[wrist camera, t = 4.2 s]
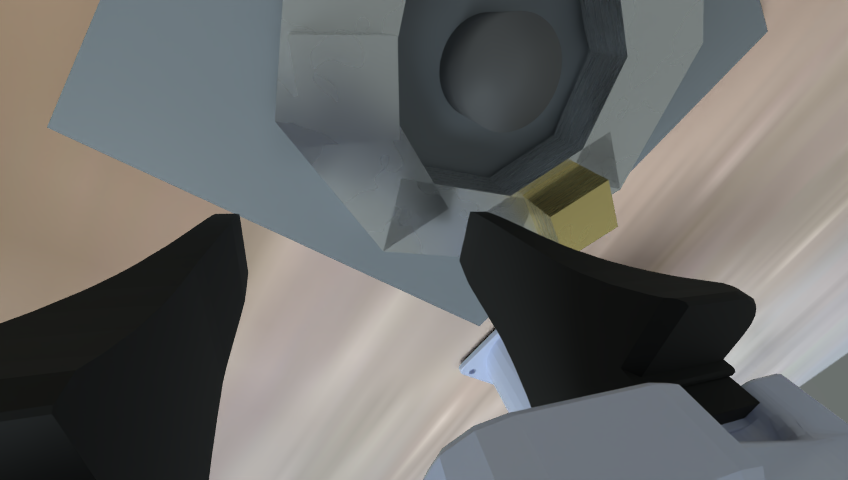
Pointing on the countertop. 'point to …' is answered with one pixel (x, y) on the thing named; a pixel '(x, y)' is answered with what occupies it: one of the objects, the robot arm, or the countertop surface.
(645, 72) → the ring nut
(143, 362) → the robot arm
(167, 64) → the slate plate
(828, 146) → the countertop surface
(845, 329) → the countertop surface
